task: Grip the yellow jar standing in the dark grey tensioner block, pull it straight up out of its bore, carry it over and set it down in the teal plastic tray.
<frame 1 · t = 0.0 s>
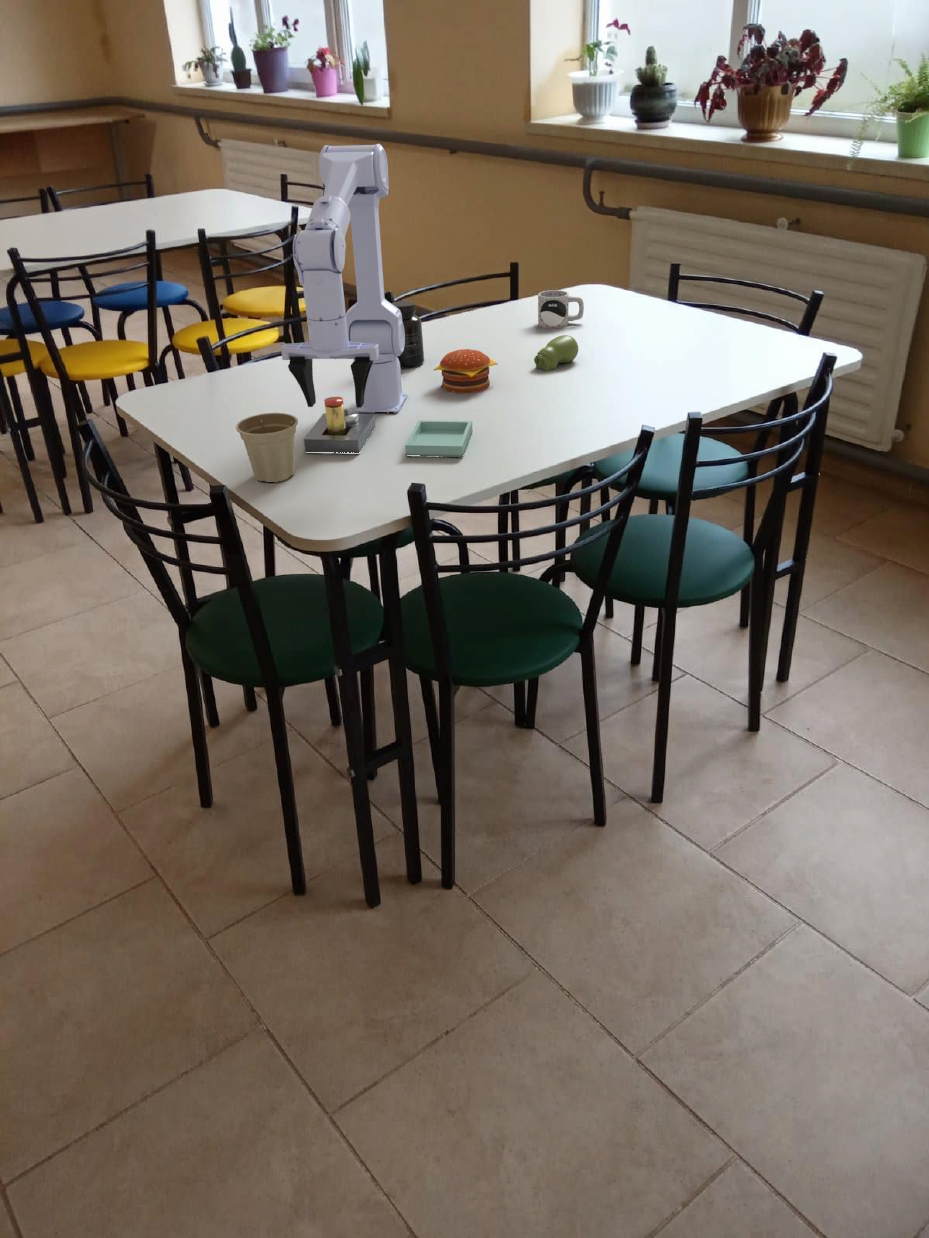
hand: (336, 405, 158), 10 cm above the table, tool pointing down, fingers open, 7 cm apart
flower pot: (274, 476, 161), on the table
supplement bottle: (407, 364, 208), on the table
tensioner block: (338, 445, 171), on the table
hamburger: (466, 386, 195), on the table
yellow jar: (338, 445, 171), resting in tensioner block
mug: (560, 325, 228), on the table
pear: (555, 366, 204), on the table
tray: (440, 444, 170), on the table
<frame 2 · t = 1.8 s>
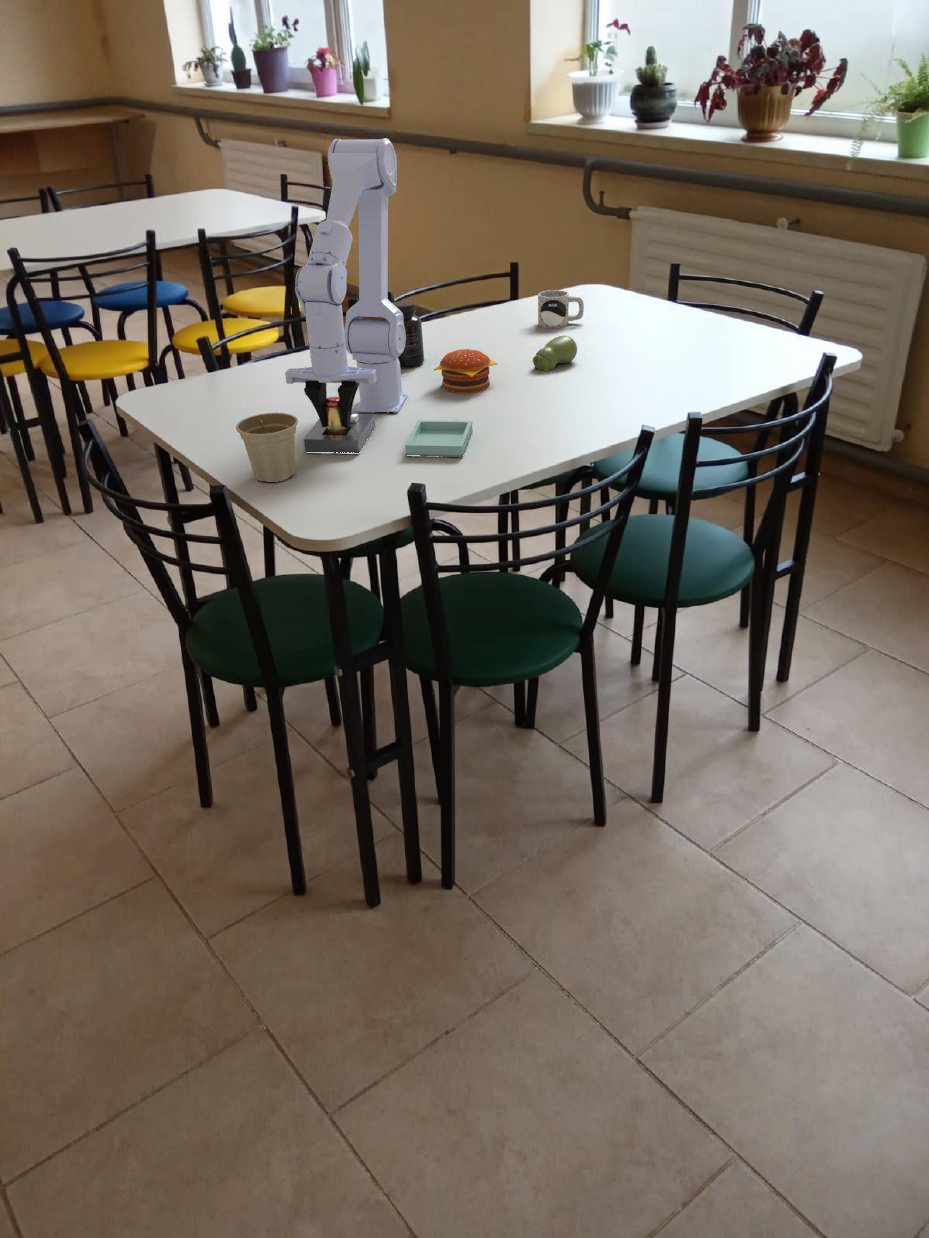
hand: (336, 425, 169), 3 cm above the table, tool pointing down, fingers closed on yellow jar, 3 cm apart
yellow jar: (338, 445, 171), resting in tensioner block, touching gripper
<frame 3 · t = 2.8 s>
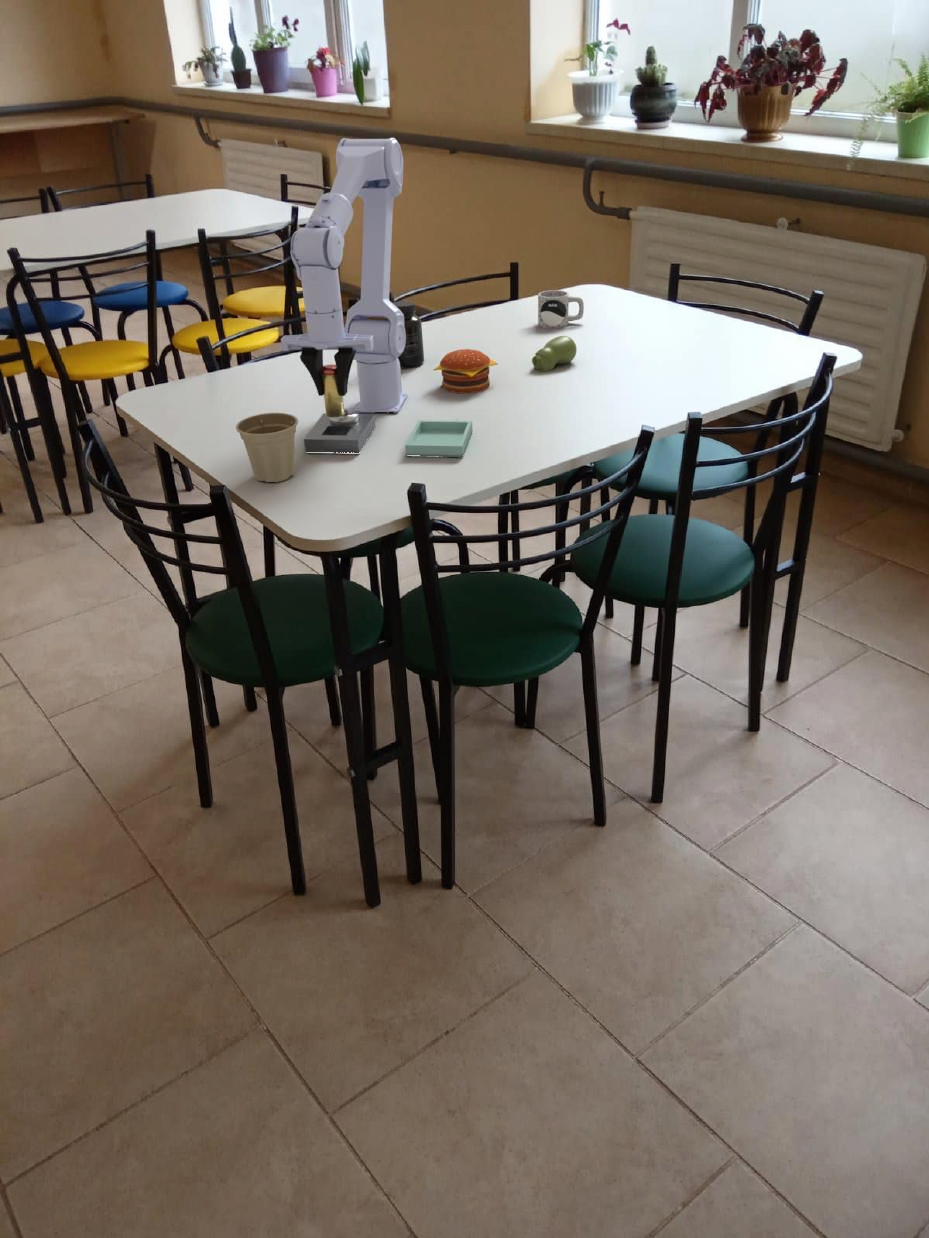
hand: (333, 393, 167), 9 cm above the table, tool pointing down, fingers closed on yellow jar, 3 cm apart
yellow jar: (335, 414, 168), point 5 cm above the table, touching gripper
everything else where it was.
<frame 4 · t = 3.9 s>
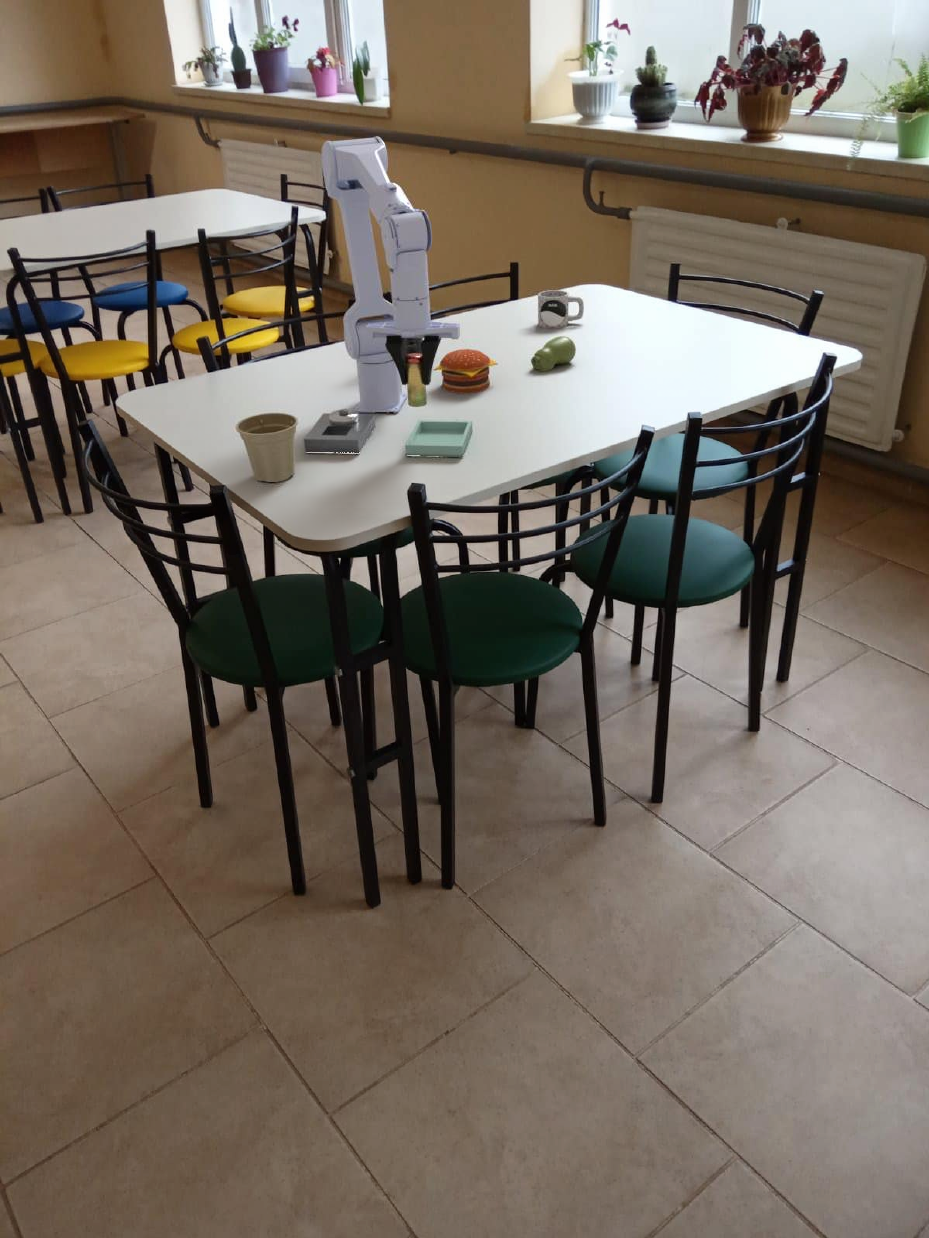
hand: (416, 383, 164), 10 cm above the table, tool pointing down, fingers closed on yellow jar, 3 cm apart
yellow jar: (417, 403, 166), point 7 cm above the table, touching gripper
everything else where it was.
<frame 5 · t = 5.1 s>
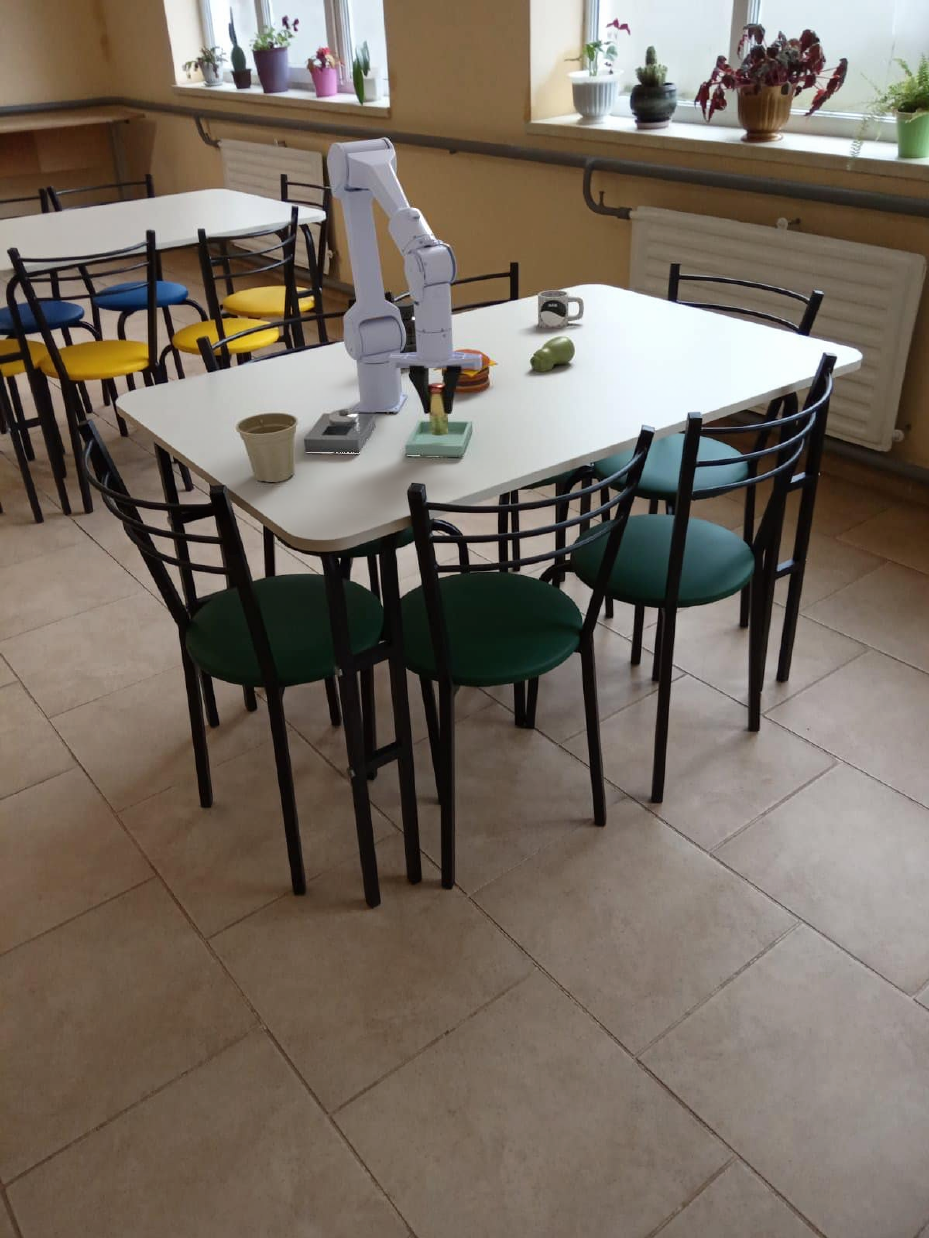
hand: (438, 411, 167), 6 cm above the table, tool pointing down, fingers closed on yellow jar, 3 cm apart
yellow jar: (439, 432, 168), point 2 cm above the table, touching gripper
when the fingers open (5 cm above the table, at t = 5.8 s): yellow jar drops 1 cm, resting on tray.
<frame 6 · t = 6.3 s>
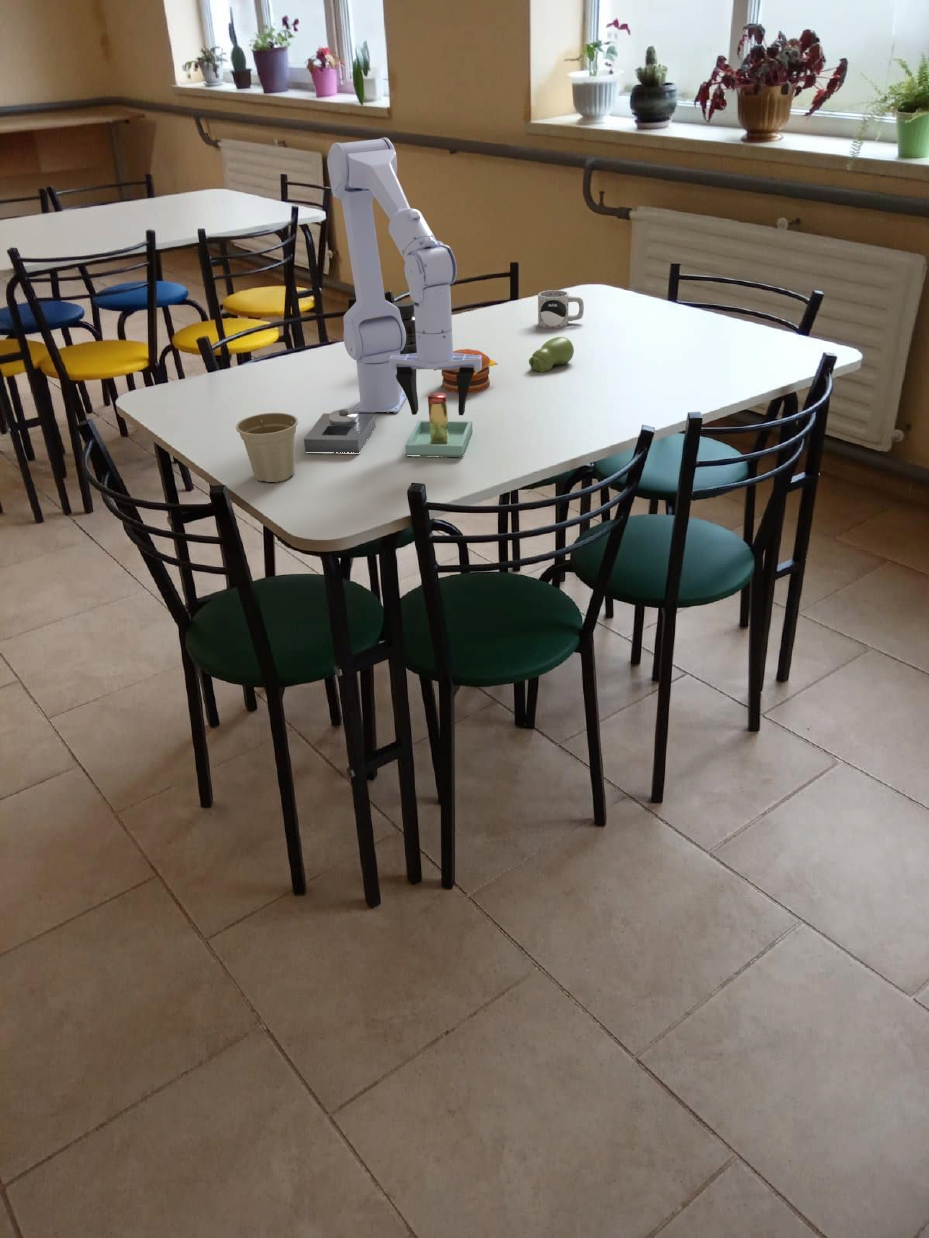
hand: (438, 413, 167), 5 cm above the table, tool pointing down, fingers open, 7 cm apart
yellow jar: (439, 441, 169), point 1 cm above the table, touching tray
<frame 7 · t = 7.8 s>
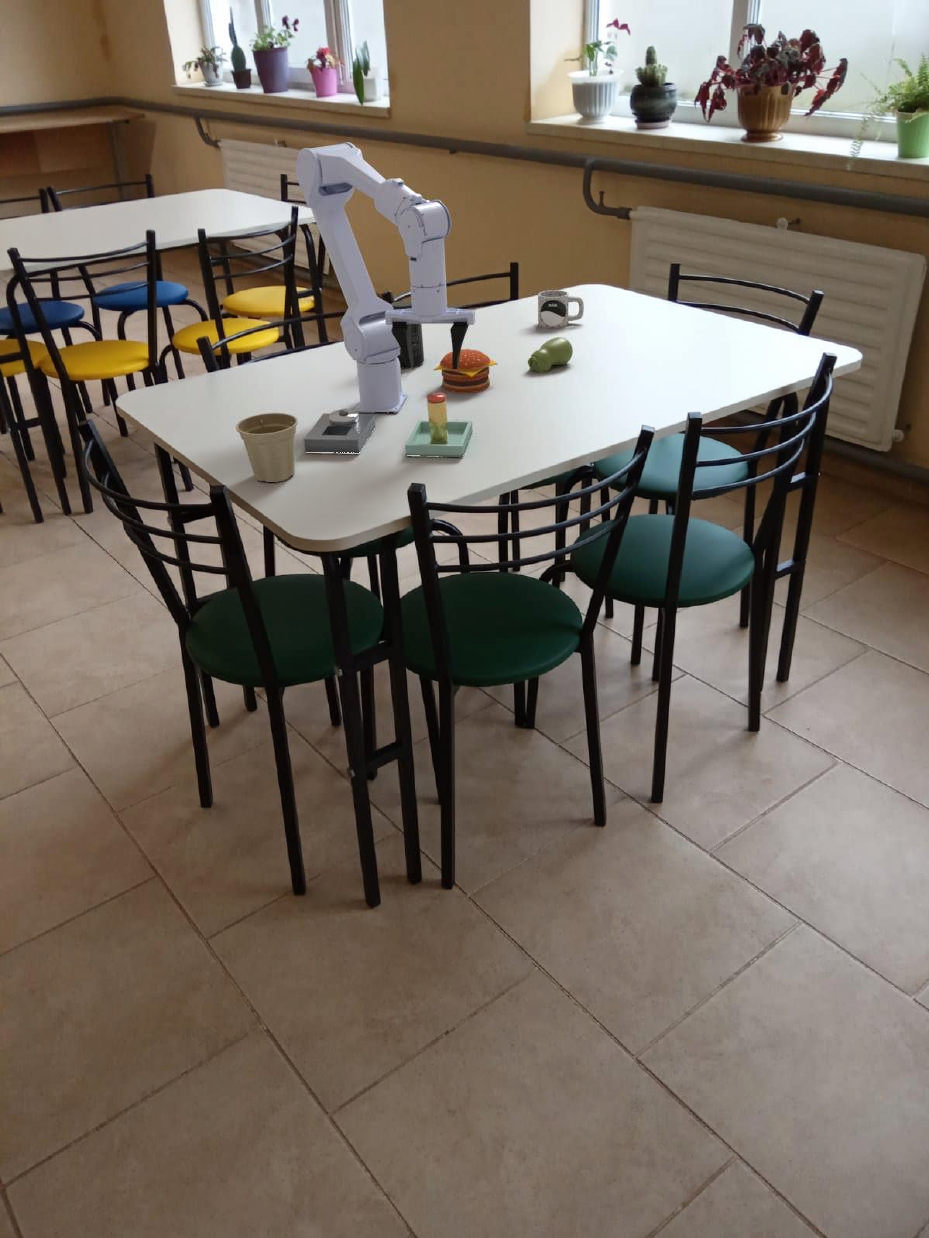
hand: (433, 367, 171), 10 cm above the table, tool pointing down, fingers open, 7 cm apart
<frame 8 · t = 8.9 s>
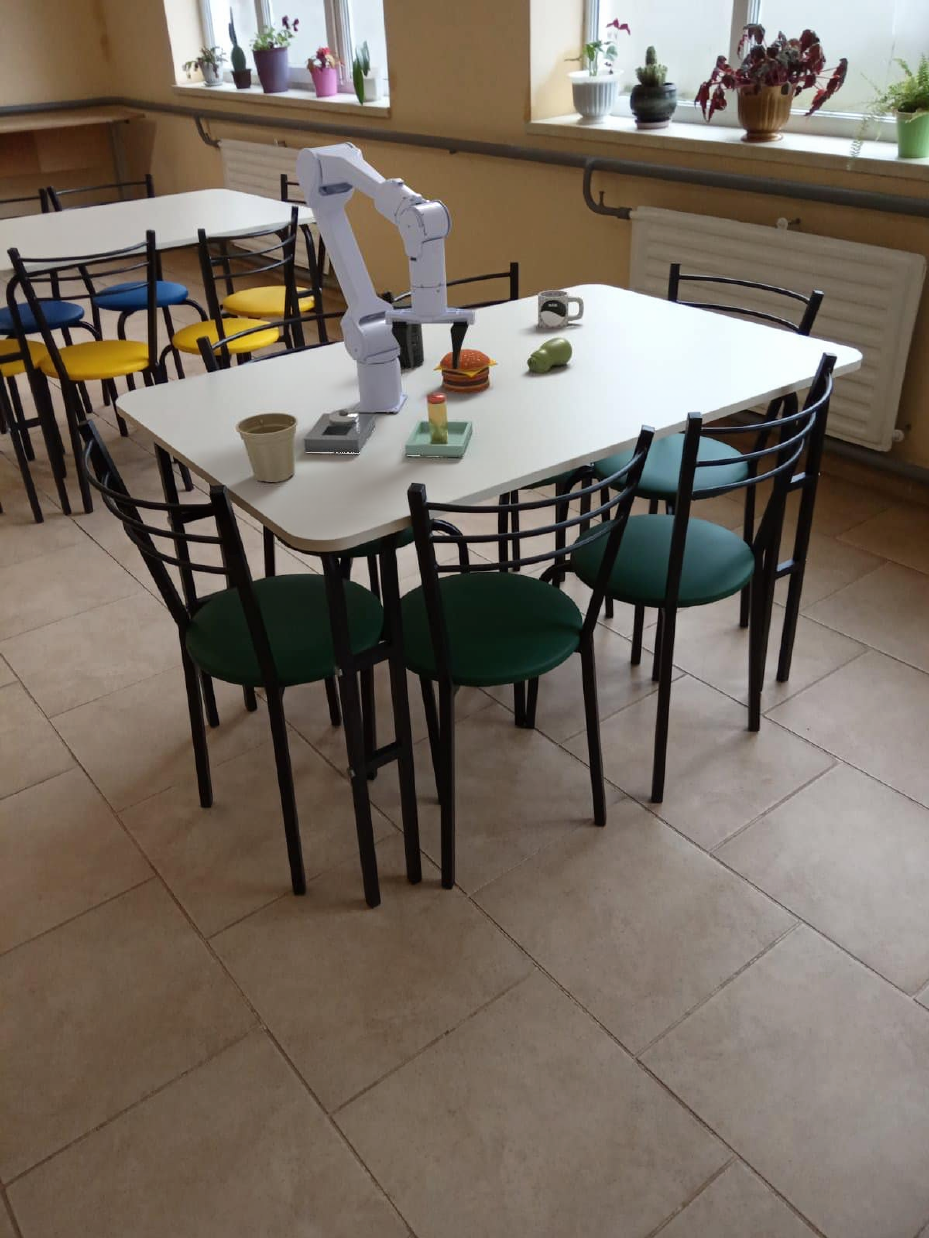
hand: (433, 367, 171), 10 cm above the table, tool pointing down, fingers open, 7 cm apart
at the end: yellow jar inside the target area on the tray (0.1 cm from its centre), point 0.5 cm above the tray's base; yellow jar point 0.5 cm above the table; the gripper is holding nothing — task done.
